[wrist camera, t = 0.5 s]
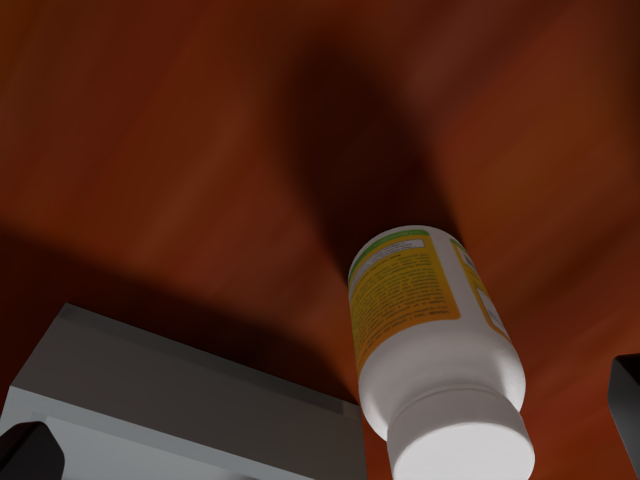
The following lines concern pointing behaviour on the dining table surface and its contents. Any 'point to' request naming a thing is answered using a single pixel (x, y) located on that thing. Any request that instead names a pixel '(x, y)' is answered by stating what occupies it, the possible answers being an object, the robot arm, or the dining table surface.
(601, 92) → the dining table surface
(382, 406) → the supplement bottle
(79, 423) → the tote
